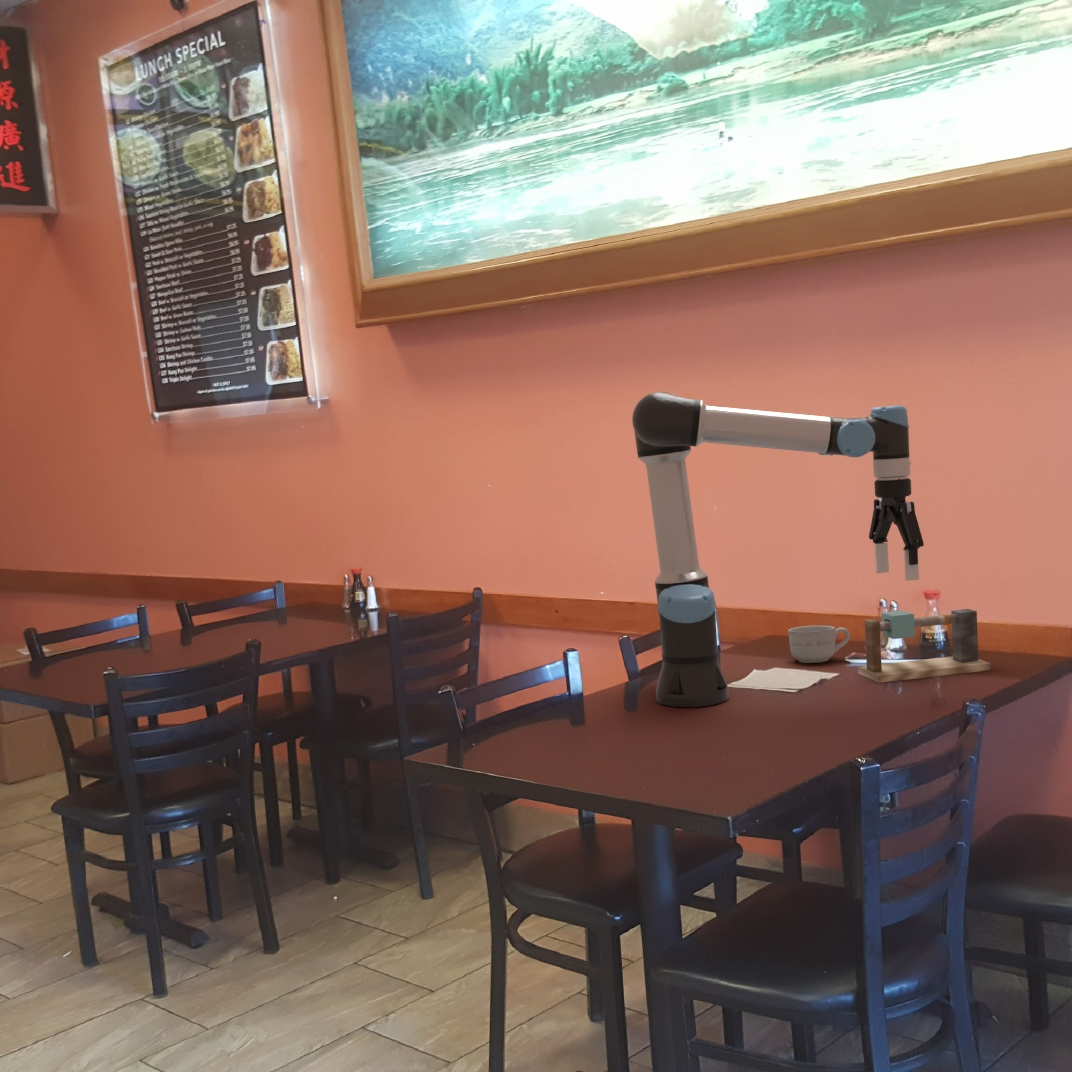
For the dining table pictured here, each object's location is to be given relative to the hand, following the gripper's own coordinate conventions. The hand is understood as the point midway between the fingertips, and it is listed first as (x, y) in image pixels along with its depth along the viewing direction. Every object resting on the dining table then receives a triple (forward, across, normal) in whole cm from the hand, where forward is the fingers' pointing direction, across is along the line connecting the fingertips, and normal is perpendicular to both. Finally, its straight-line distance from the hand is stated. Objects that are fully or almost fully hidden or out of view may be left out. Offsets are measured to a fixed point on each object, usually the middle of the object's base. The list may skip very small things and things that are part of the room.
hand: (896, 576), depth 259 cm
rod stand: (+22, 0, -5) cm, 22 cm away
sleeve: (+13, 0, 0) cm, 13 cm away
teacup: (+22, +21, +10) cm, 32 cm away
